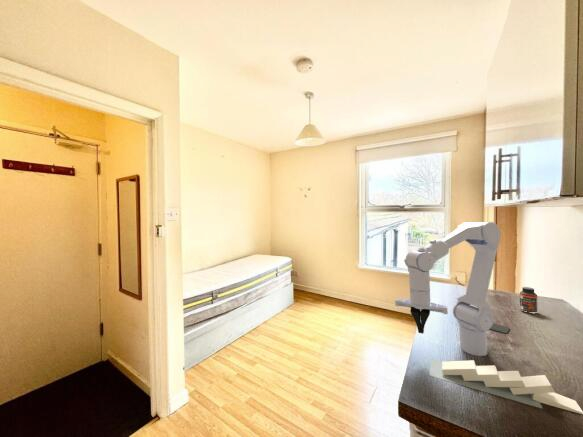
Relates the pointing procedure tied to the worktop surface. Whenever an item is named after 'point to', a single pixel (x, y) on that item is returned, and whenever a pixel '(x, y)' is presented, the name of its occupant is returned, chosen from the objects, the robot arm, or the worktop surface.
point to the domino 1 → (484, 374)
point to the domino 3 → (533, 385)
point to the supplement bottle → (528, 300)
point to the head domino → (459, 368)
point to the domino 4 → (557, 401)
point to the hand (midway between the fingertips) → (421, 331)
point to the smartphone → (500, 329)
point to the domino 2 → (507, 380)
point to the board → (481, 385)
